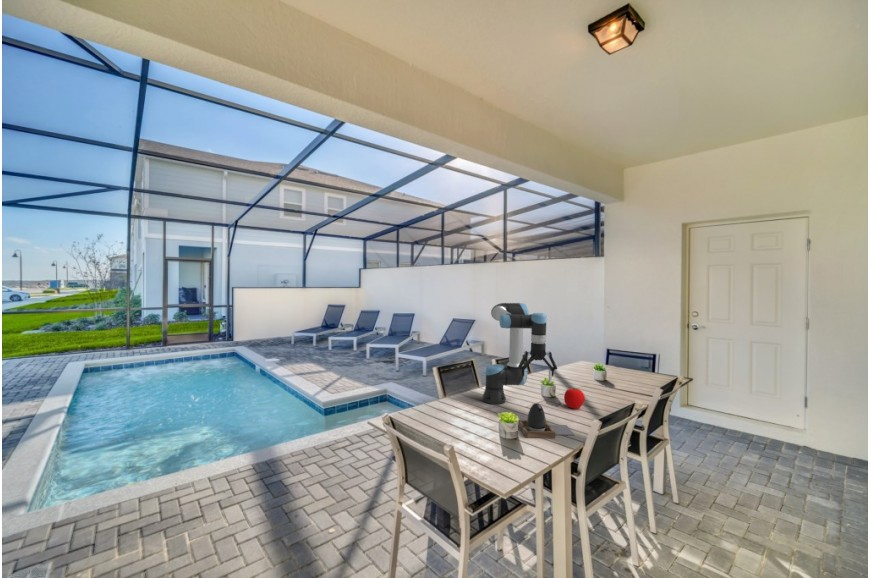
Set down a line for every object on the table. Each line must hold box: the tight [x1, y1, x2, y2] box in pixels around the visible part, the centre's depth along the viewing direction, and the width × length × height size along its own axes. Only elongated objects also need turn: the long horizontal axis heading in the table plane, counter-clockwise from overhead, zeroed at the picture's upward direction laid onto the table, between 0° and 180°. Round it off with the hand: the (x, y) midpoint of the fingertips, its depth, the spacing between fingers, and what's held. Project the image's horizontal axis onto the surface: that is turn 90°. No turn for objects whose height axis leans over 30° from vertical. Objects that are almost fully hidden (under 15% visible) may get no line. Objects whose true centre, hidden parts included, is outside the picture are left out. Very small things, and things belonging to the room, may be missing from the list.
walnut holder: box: [518, 419, 556, 439], centre depth 201 cm, size 15×15×3 cm
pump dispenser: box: [526, 403, 547, 431], centre depth 201 cm, size 10×10×15 cm
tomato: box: [563, 387, 586, 410], centre depth 238 cm, size 12×12×13 cm
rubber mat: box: [549, 424, 575, 436], centre depth 203 cm, size 12×11×1 cm
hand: (537, 382), depth 200 cm, fingers open, 13 cm apart
